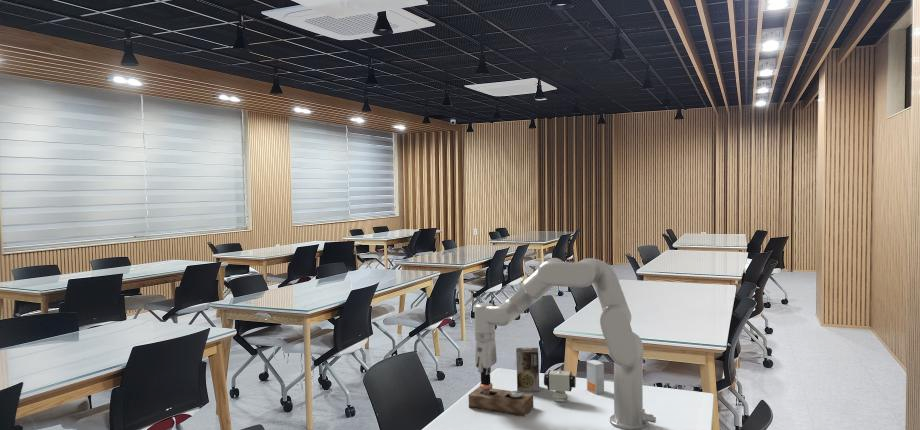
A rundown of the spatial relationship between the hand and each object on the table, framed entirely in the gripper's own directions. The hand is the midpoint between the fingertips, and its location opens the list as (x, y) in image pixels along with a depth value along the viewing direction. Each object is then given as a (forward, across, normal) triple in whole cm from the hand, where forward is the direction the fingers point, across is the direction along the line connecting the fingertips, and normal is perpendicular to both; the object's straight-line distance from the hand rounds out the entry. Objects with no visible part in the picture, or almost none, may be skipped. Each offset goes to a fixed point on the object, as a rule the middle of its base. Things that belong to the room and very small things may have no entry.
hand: (485, 383), depth 228 cm
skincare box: (+8, +31, -34) cm, 47 cm away
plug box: (+8, 0, -6) cm, 10 cm away
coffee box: (+8, +24, -8) cm, 27 cm away
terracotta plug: (+5, 0, 0) cm, 5 cm away
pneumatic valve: (+8, +16, -24) cm, 30 cm away
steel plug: (+7, 0, -12) cm, 14 cm away
